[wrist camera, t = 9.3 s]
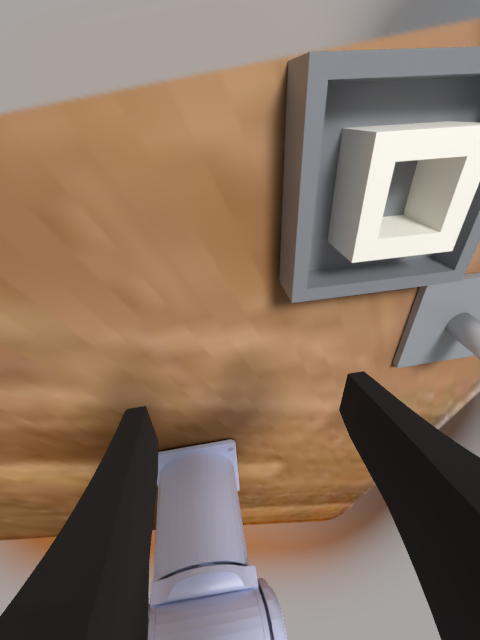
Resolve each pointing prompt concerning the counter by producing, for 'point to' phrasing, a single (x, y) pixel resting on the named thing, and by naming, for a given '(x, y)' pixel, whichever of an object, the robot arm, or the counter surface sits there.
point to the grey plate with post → (442, 323)
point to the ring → (424, 197)
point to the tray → (392, 109)
